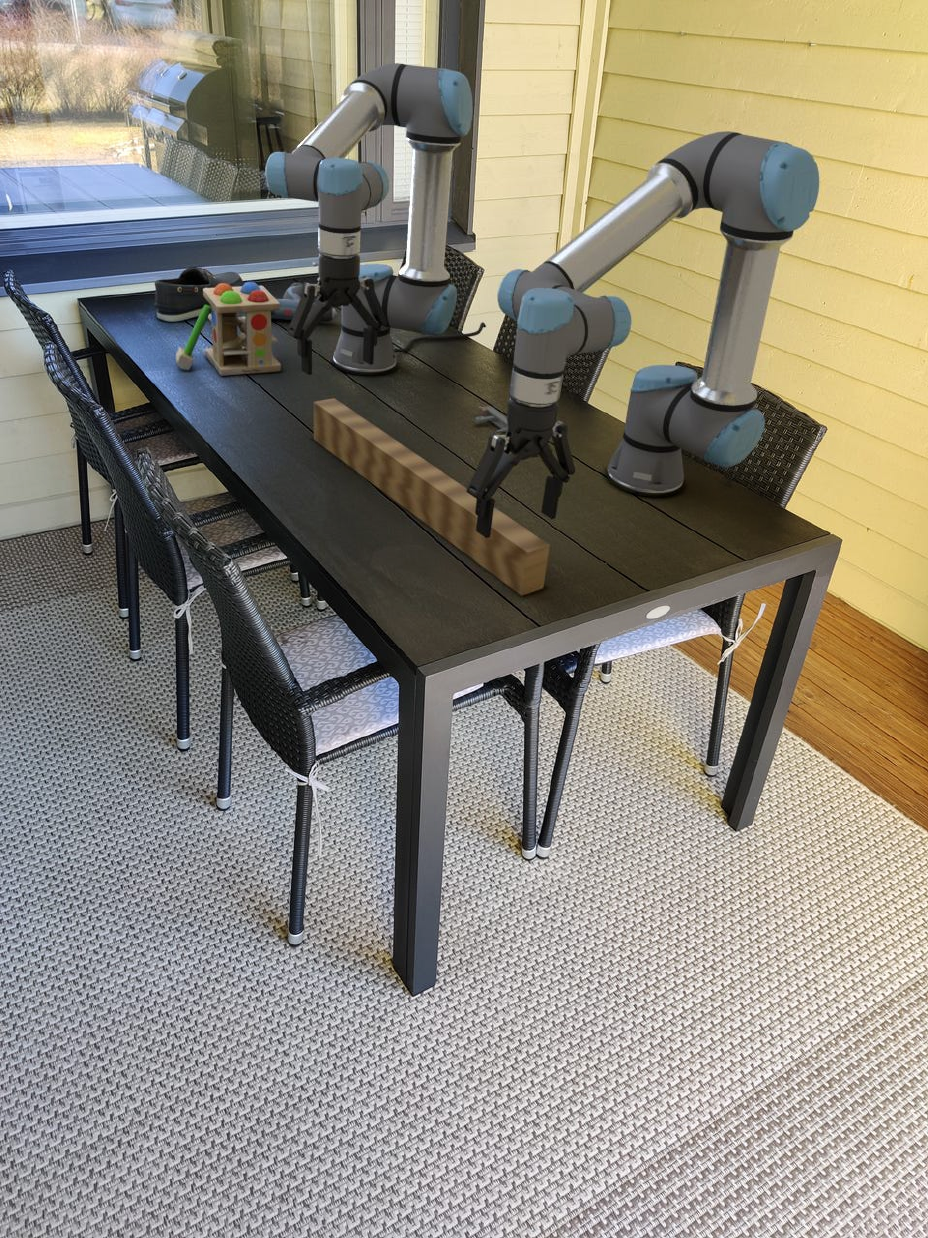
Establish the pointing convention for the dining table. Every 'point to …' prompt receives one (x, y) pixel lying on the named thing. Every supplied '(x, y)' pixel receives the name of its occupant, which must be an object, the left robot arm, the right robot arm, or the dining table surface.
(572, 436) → the dining table surface
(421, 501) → the beam
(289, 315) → the power drill
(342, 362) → the left robot arm
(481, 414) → the clamp
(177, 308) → the boat shoe
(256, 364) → the pounding bench toy
